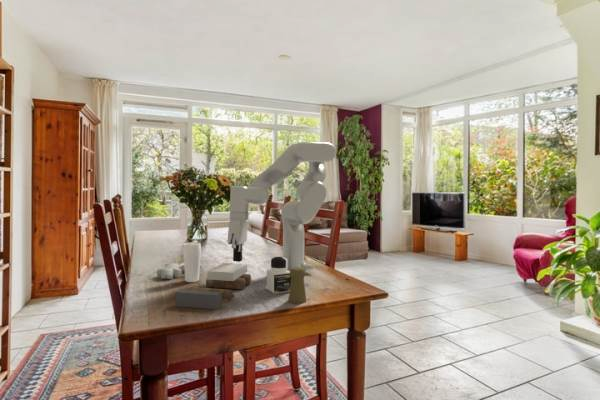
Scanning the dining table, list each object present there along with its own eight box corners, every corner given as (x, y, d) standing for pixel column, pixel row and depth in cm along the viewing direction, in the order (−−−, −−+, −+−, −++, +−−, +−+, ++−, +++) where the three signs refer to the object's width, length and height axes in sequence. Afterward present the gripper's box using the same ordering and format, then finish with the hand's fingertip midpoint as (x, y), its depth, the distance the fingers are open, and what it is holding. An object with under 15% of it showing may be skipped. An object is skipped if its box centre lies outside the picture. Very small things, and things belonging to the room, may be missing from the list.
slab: (247, 271, 136) (247, 264, 136) (233, 281, 122) (233, 272, 122) (223, 270, 138) (223, 263, 138) (207, 279, 124) (207, 271, 124)
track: (251, 283, 135) (251, 273, 134) (226, 302, 112) (226, 290, 112) (217, 281, 137) (217, 271, 137) (187, 299, 115) (187, 287, 115)
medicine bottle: (274, 294, 121) (274, 260, 121) (266, 288, 128) (266, 256, 127) (292, 291, 124) (292, 258, 124) (283, 286, 131) (284, 255, 130)
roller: (232, 296, 117) (231, 287, 115) (228, 303, 113) (227, 294, 112) (194, 293, 120) (192, 284, 118) (189, 300, 116) (187, 291, 115)
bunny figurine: (153, 271, 137) (164, 259, 152) (153, 283, 138) (165, 270, 153) (177, 270, 138) (186, 258, 153) (178, 282, 139) (187, 269, 154)
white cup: (195, 283, 133) (195, 245, 133) (179, 282, 135) (179, 244, 134) (204, 279, 140) (204, 242, 140) (188, 278, 141) (188, 241, 141)
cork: (287, 297, 117) (288, 265, 117) (305, 297, 118) (305, 265, 117) (288, 303, 111) (289, 270, 111) (307, 303, 112) (307, 269, 111)
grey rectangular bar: (221, 306, 108) (221, 292, 108) (217, 309, 105) (217, 295, 105) (181, 303, 111) (181, 289, 111) (175, 306, 108) (175, 291, 108)
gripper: (237, 214, 148) (235, 257, 149) (222, 216, 134) (221, 263, 134) (253, 215, 147) (252, 258, 147) (240, 217, 132) (239, 265, 133)
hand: (237, 261), depth 141 cm, fingers closed
